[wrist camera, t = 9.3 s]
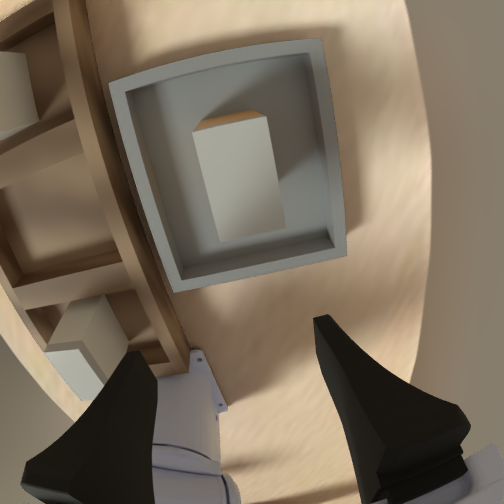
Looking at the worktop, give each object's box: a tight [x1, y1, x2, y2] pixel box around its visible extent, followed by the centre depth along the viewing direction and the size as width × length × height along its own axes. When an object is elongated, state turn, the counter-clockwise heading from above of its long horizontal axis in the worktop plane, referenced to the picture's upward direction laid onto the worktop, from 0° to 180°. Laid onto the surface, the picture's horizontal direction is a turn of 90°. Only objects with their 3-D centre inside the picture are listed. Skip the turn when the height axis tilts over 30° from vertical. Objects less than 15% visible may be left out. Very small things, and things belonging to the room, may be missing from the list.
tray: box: [108, 38, 347, 293], centre depth 18 cm, size 14×12×2 cm
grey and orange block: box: [192, 109, 286, 242], centre depth 16 cm, size 5×3×6 cm, turn 11°
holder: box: [0, 0, 191, 377], centre depth 18 cm, size 28×12×3 cm, turn 11°
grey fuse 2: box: [44, 295, 129, 401], centre depth 20 cm, size 5×3×6 cm, turn 11°
